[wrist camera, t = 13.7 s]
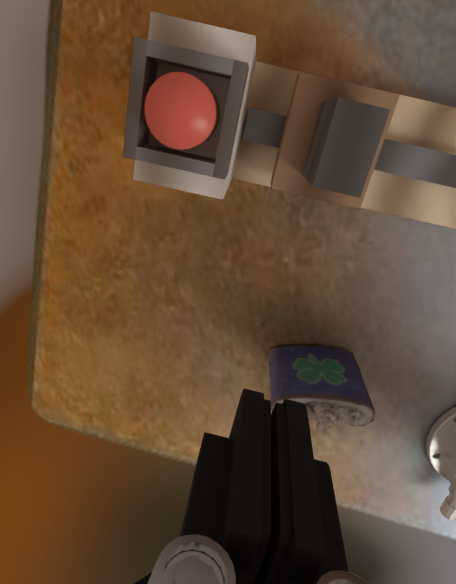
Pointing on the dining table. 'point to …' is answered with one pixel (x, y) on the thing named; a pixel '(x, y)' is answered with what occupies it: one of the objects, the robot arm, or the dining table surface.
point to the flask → (320, 383)
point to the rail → (275, 125)
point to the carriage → (332, 139)
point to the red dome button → (181, 110)
